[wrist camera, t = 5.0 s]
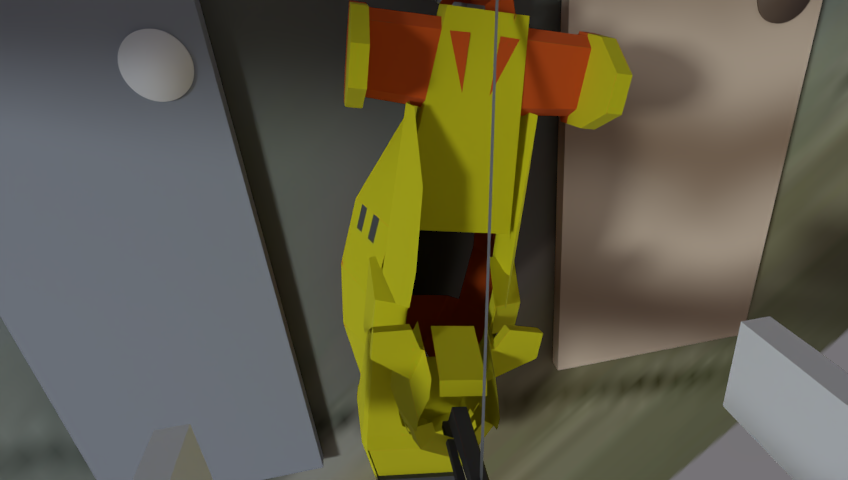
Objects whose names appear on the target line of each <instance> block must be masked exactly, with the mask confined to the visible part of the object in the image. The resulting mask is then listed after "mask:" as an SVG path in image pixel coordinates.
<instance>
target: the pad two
mask: <svg viewBox="0 0 848 480" xmlns="http://www.w3.org/2000/svg"><path fill="white" fill-rule="evenodd" d="M822 1H823V0H561V32H562V33H569V34H577V35H578V33H579V31H583V32H590V33H596V34H600V35H603V36H607V37H611V38H615V39H616V40H617V42H618V44H619V46H620V48H621V51H622V53H623V55H624V57H625V59H626V62H627V64H628V66H629V68H630V70H631V73H632V75H633V76H632V80H631V83H630V87H629V91H628V94H627V98H626V102H625V105H624V109H623V112H622V115H621V116H619V117H617V118H615V119H613V120H611V121H610V122H608V123H606V124H604V125H602V126H600V127H599V128H597V129H595V130H593V129H582V128H578V127H575V126H572V125H570V124H567V123H564V122H561V120H560V116H559V122H558V163H557V204H556V245H555V286H554V327H553V363H554V365H555V366H556V368H557V370H563V369H568V368H573V367H578V366H583V365H588V364H593V363H598V362H604V361H609V360H614V359H619V358H624V357H629V356H634V355H639V354H644V353H650V352H655V351H660V350H665V349H670V348H675V347H680V346H685V345H690V344H696V343H701V342H706V341H711V340H716V339H721V338H726V337H731V336H736V335H738V333H739V328H740V324H741V321H746V320H747V315H748V311H749V307H750V303H751V299H752V294H753V290H754V286H755V282H756V278H757V274H758V269H759V265H760V261H761V257H762V253H763V248H764V244H765V240H766V236H767V232H768V227H769V223H770V219H771V215H772V211H773V206H774V202H775V198H776V194H777V190H778V185H779V181H780V177H781V173H782V169H783V164H784V160H785V156H786V152H787V148H788V143H789V139H790V135H791V131H792V127H793V122H794V118H795V114H796V110H797V106H798V101H799V97H800V93H801V89H802V85H803V81H804V76H805V72H806V68H807V64H808V60H809V55H810V51H811V47H812V43H813V39H814V34H815V30H816V26H817V22H818V18H819V13H820V9H821V5H822Z"/></svg>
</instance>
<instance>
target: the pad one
mask: <svg viewBox="0 0 848 480" xmlns="http://www.w3.org/2000/svg"><path fill="white" fill-rule="evenodd" d="M0 316H1V318H2V320H3V322H4V323H5V325H6V327H7V328H8V330H9V332H10V333H11V335H12V337H13V339H14V340H15V342H16V344H17V345H18V347H19V349H20V350H21V352H22V354H23V356H24V357H25V359H26V361H27V362H28V364H29V366H30V367H31V369H32V371H33V373H34V374H35V376H36V378H37V379H38V381H39V383H40V385H41V386H42V388H43V390H44V391H45V393H46V395H47V396H48V398H49V400H50V402H51V403H52V405H53V407H54V408H55V410H56V412H57V413H58V415H59V417H60V419H61V420H62V422H63V424H64V425H65V427H66V429H67V430H68V432H69V434H70V436H71V437H72V439H73V441H74V442H75V444H76V446H77V447H78V449H79V451H80V453H81V454H82V456H83V458H84V459H85V461H86V463H87V465H88V466H89V468H90V470H91V471H92V473H93V475H94V476H95V478H96V480H133V478H134V475H135V473H136V471H137V468H138V466H139V464H140V461H141V459H142V457H143V454H144V452H145V450H146V447H147V445H148V443H149V441H150V438H151V436H152V434H153V431H154V430H159V429H164V428H169V427H175V426H180V425H186V424H190V425H191V428H192V430H193V432H194V435H195V437H196V440H197V442H198V444H199V447H200V449H201V452H202V454H203V457H204V459H205V461H206V464H207V466H208V469H209V471H210V473H211V476H212V478H213V480H264V479H268V478H273V477H278V476H283V475H288V474H293V473H298V472H302V471H307V470H312V469H317V468H322V467H323V453H322V449H321V446H320V442H319V438H318V435H317V431H316V427H315V424H314V420H313V416H312V413H311V409H310V405H309V402H308V398H307V394H306V391H305V387H304V383H303V380H302V376H301V372H300V369H299V365H298V361H297V358H296V354H295V350H294V347H293V343H292V339H291V336H290V332H289V328H288V325H287V321H286V317H285V314H284V310H283V306H282V303H281V299H280V295H279V292H278V288H277V284H276V281H275V277H274V273H273V270H272V266H271V262H270V259H269V255H268V251H267V248H266V244H265V240H264V237H263V233H262V229H261V226H260V222H259V218H258V215H257V211H256V207H255V204H254V200H253V196H252V193H251V189H250V185H249V182H248V178H247V174H246V171H245V167H244V163H243V160H242V156H241V152H240V149H239V145H238V141H237V138H236V134H235V130H234V127H233V123H232V119H231V116H230V112H229V108H228V105H227V101H226V97H225V94H224V90H223V86H222V83H221V79H220V75H219V72H218V68H217V64H216V61H215V57H214V53H213V50H212V46H211V42H210V39H209V35H208V31H207V28H206V24H205V20H204V16H203V13H202V9H201V5H200V2H199V0H0Z"/></svg>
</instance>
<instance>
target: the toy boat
mask: <svg viewBox="0 0 848 480" xmlns="http://www.w3.org/2000/svg"><path fill="white" fill-rule="evenodd" d="M437 3H438V4H439V7H438V11H437V15H436V16H433V15H426V14H418V13H410V12H403V11H395V10H387V9H380V8H372V7H369V6H368V5H367V3H366V2H358V1H351V0H349V9H348V23H347V39H346V58H345V79H344V104H345V107H353V108H362V107H363V103H364V99H365V97H368V98H374V99H380V100H385V101H391V102H397V103H402V104H406V106H405V114H404V118H403V120H402V122H401V123H400V125H399V127H398V128H397V130H396V132H395V133H394V135H393V137H392V138H391V140H390V142H389V143H388V145H387V147H386V148H385V150H384V152H383V154H382V155H381V157H380V159H379V160H378V162H377V164H376V165H375V167H374V169H373V170H372V172H371V174H370V175H369V177H368V179H367V180H366V182H365V184H364V185H363V187H362V189H361V190H360V192H359V194H358V195H357V197H356V200H355V204H354V209H353V213H352V218H351V222H350V227H349V231H348V235H347V240H346V244H345V249H344V253H343V258H342V262H341V274H342V300H343V323H344V326H345V329H346V332H347V335H348V338H349V341H350V344H351V347H352V350H353V353H354V356H355V359H356V362H357V364H358V367H359V370H360V373H361V376H360V382H359V385H358V392H357V402H358V411H359V420H360V429H361V437H362V443H363V446H364V449H365V451H366V454H367V457H368V459H369V462H370V464H371V467H372V470H373V472H374V475H375V478H376V480H465V476H464V473H463V469H464V472H465V475H466V478H467V480H489V478H488V475H487V471H486V468H485V465H484V461H483V451H484V437H485V436H486V435H487V433H488V432H489V431H490V429H491V428H492V427H493V425H494V426H495V428H496V429H497V428H498V424H499V420H500V415H499V404H498V394H497V386H496V379H495V377H497V376H500V375H502V374H504V373H506V372H508V371H510V370H512V369H514V368H517V367H519V366H521V365H523V364H525V363H527V362H529V361H532V360H534V359H536V358H537V355H538V351H539V347H540V343H541V340H542V336H543V333H542V332H541V331H540V330H539V329H538V328H535V327H525V326H515V323H516V318H517V314H518V310H519V306H520V296H519V290H518V283H517V276H516V270H515V263H514V259H515V253H516V247H517V241H518V235H519V230H520V224H521V218H522V212H523V206H524V200H525V194H526V188H527V182H528V176H529V169H530V163H531V157H532V150H533V144H534V138H535V131H536V125H537V119H538V116H560V120H561V122H564V123H567V124H570V125H572V126H575V127H578V128H582V129H593V130H595V129H597V128H599V127H600V126H602V125H604V124H606V123H608V122H610V121H611V120H613V119H615V118H617V117H619V116H621V115H622V112H623V109H624V105H625V102H626V98H627V94H628V91H629V87H630V83H631V80H632V76H633V75H632V73H631V70H630V68H629V66H628V64H627V62H626V59H625V57H624V55H623V53H622V51H621V48H620V46H619V44H618V42H617V40H616V39H615V38H611V37H607V36H603V35H600V34H596V33H590V32H583V31H579V33H578V35H577V34H569V33H562V32H554V31H547V30H539V29H532V28H529V17H530V16H526V15H519V14H516V13H515V7H514V2H513V0H437ZM419 230H428V231H450V232H473V233H474V245H473V249H472V253H471V257H470V260H469V264H468V268H467V271H466V275H465V279H464V282H463V286H462V290H461V293H460V297H459V299H457V298H454V297H451V296H448V295H412V291H413V286H414V280H415V275H416V267H417V254H418V242H419ZM498 332H499V333H498ZM496 333H498V334H497V335H496ZM424 348H425V350H426V352H427V354H428V356H429V357H426V354H425V350H424ZM480 443H481V452H480V448H479V444H480ZM462 466H463V469H462Z"/></svg>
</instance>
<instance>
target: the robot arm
mask: <svg viewBox="0 0 848 480" xmlns="http://www.w3.org/2000/svg"><path fill="white" fill-rule="evenodd" d="M723 407H724V408H725V409H726V410H727V411H728V412H729V413H730V414H731V415H732V416H733V417H734V418H735V419H736V420H737V421H738V422H739V423H740V424H741V425H742V426H743V428H744V429H745V430H746V431H747V432H748V433H749V434H750V435H751V436H752V437H753V438H754V439H755V440H756V441H757V442H758V443H759V444H760V445H761V446H762V447H763V448H764V450H765V451H766V452H767V453H768V454H769V455H770V456H771V457H772V458H773V459H774V460H775V461H776V462H777V463H778V464H779V465H780V466H781V467H782V468H783V469H784V470H785V472H786V473H787V474H788V475H789V476H790V477H791V478H792V479H793V480H848V373H847V372H846V371H845V370H843V369H842V368H840V367H839V366H838V365H836V364H835V363H834V362H832V361H831V360H829V359H828V358H827V357H825V356H824V355H823V354H821V353H820V352H818V351H817V350H816V349H814V348H813V347H811V346H810V345H809V344H807V343H806V342H805V341H803V340H802V339H800V338H799V337H798V336H796V335H795V334H794V333H792V332H791V331H789V330H788V329H787V328H785V327H784V326H783V325H781V324H780V323H778V322H777V321H776V320H774V319H773V318H772V317H770V316H768V317H763V318H757V319H752V320H747V321H741V324H740V328H739V333H738V338H737V342H736V347H735V352H734V356H733V361H732V366H731V370H730V375H729V380H728V384H727V389H726V394H725V398H724V403H723ZM133 480H213V478H212V476H211V473H210V471H209V469H208V466H207V464H206V461H205V459H204V457H203V454H202V452H201V449H200V447H199V444H198V442H197V440H196V437H195V435H194V432H193V430H192V428H191V425H190V424H186V425H180V426H175V427H169V428H164V429H159V430H154V431H153V434H152V436H151V438H150V441H149V443H148V445H147V447H146V450H145V452H144V454H143V457H142V459H141V461H140V464H139V466H138V468H137V471H136V473H135V475H134V478H133Z"/></svg>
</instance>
